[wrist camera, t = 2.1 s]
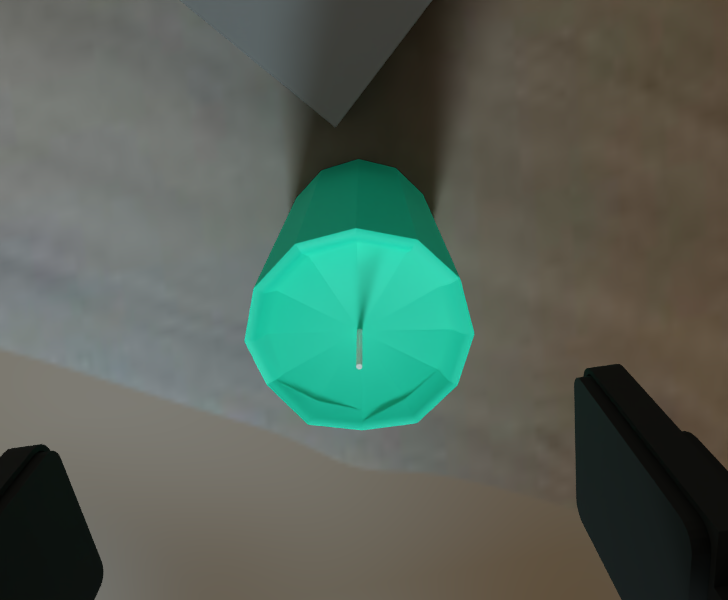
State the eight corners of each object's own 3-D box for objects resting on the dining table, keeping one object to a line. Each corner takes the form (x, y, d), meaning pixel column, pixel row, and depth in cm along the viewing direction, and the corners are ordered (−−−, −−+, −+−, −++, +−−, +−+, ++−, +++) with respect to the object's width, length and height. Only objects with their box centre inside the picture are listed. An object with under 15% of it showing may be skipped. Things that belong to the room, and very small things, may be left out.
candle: (283, 161, 24) (217, 248, 13) (433, 156, 24) (493, 240, 13) (294, 299, 27) (245, 473, 15) (431, 296, 27) (480, 468, 15)
